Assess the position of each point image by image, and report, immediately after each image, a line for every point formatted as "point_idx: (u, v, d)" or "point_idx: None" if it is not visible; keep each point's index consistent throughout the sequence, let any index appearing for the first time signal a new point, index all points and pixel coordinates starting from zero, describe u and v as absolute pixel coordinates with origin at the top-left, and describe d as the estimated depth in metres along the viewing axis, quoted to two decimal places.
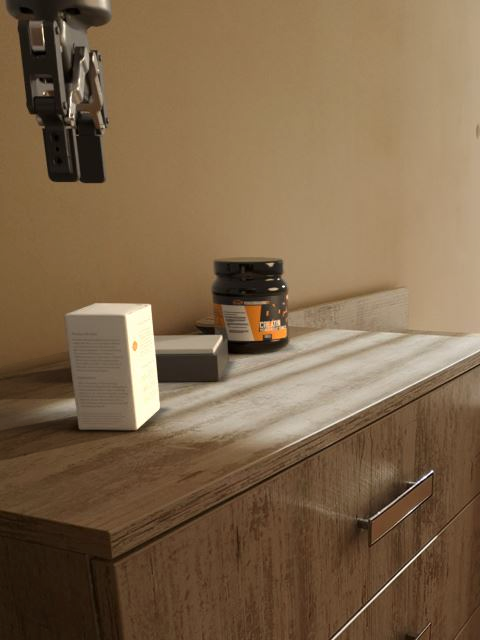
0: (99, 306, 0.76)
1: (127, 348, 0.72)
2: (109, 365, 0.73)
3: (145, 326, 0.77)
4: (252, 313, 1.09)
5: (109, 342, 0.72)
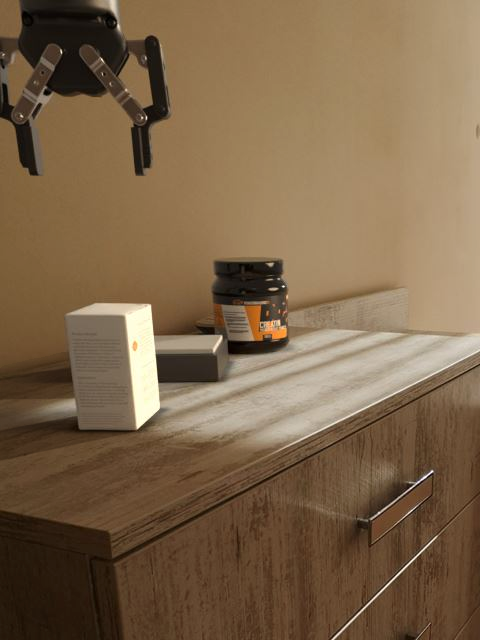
0: (99, 306, 0.76)
1: (127, 348, 0.72)
2: (109, 365, 0.73)
3: (145, 326, 0.77)
4: (252, 313, 1.09)
5: (109, 342, 0.72)
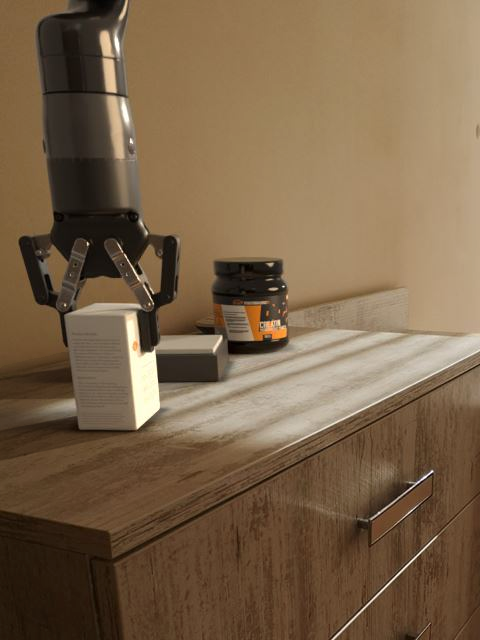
0: (99, 306, 0.76)
1: (127, 348, 0.72)
2: (109, 365, 0.73)
3: None
4: (252, 313, 1.09)
5: (109, 342, 0.72)
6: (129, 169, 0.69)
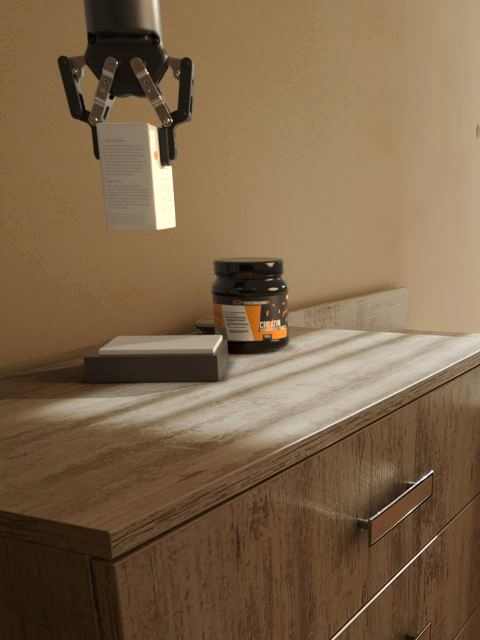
0: None
1: (150, 153, 0.84)
2: (134, 169, 0.85)
3: None
4: (252, 313, 1.09)
5: (134, 148, 0.84)
6: None
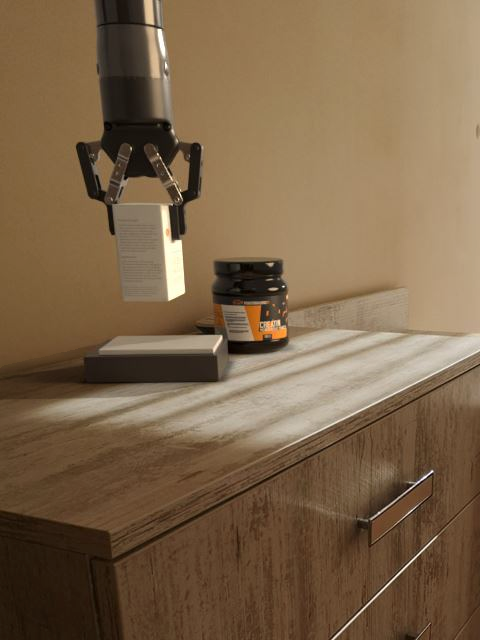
0: None
1: (162, 232, 0.90)
2: (147, 246, 0.91)
3: None
4: (252, 313, 1.09)
5: (147, 227, 0.90)
6: (164, 87, 0.88)
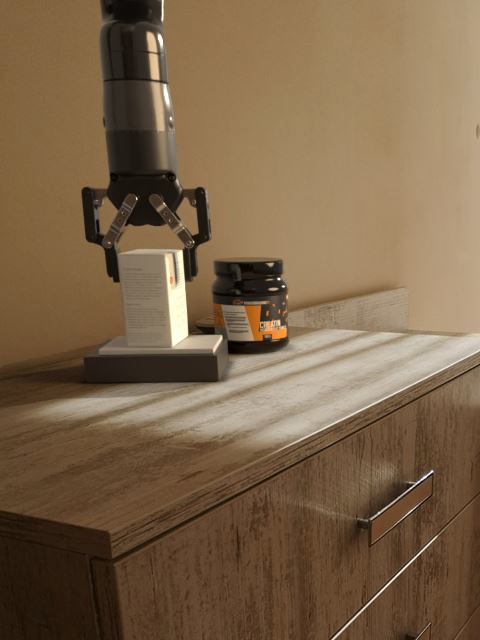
0: (142, 250, 0.96)
1: (166, 280, 0.92)
2: (151, 294, 0.93)
3: (178, 266, 0.97)
4: (252, 313, 1.09)
5: (152, 276, 0.92)
6: (169, 139, 0.90)
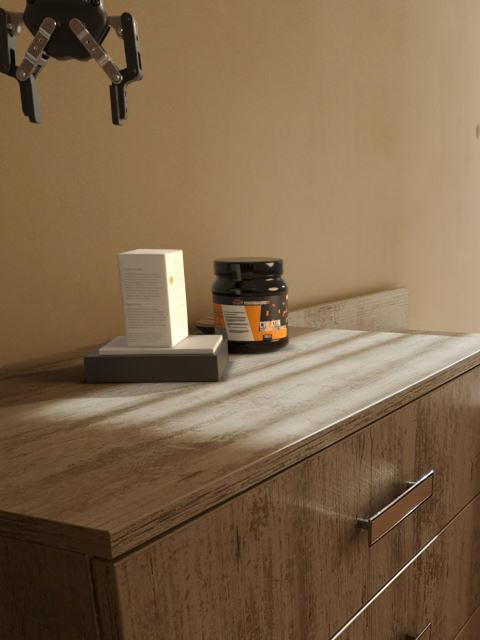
0: (142, 250, 0.96)
1: (166, 280, 0.92)
2: (151, 294, 0.93)
3: (178, 266, 0.97)
4: (252, 313, 1.09)
5: (152, 276, 0.92)
6: None
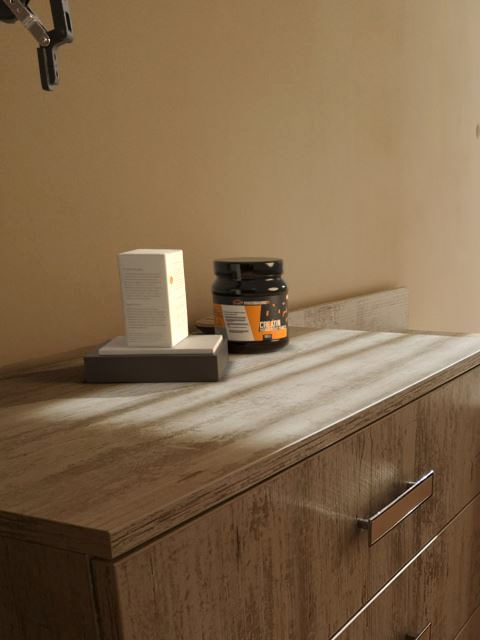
0: (142, 250, 0.96)
1: (166, 280, 0.92)
2: (152, 294, 0.93)
3: (178, 266, 0.97)
4: (252, 313, 1.09)
5: (152, 276, 0.92)
6: None
